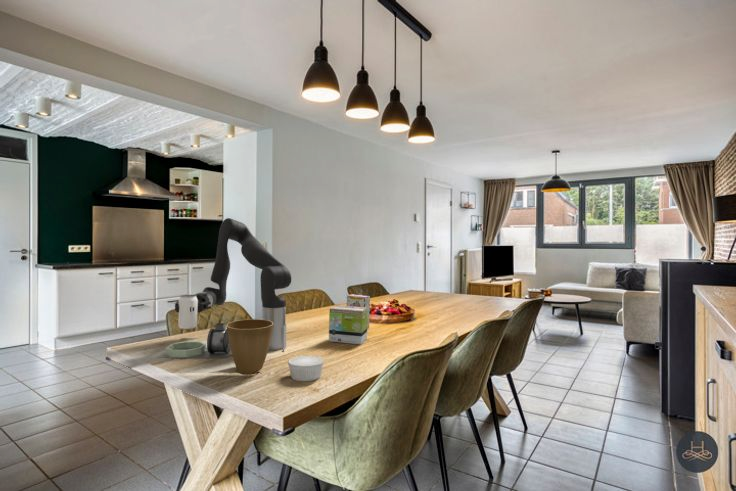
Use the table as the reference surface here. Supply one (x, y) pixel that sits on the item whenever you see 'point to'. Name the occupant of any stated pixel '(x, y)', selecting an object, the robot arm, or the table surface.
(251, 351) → the plant pot
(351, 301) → the candy bar box
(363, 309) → the tea box
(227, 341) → the cylinder
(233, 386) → the table surface
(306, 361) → the ramekin
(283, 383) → the table surface
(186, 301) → the can
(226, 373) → the table surface
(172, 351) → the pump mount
